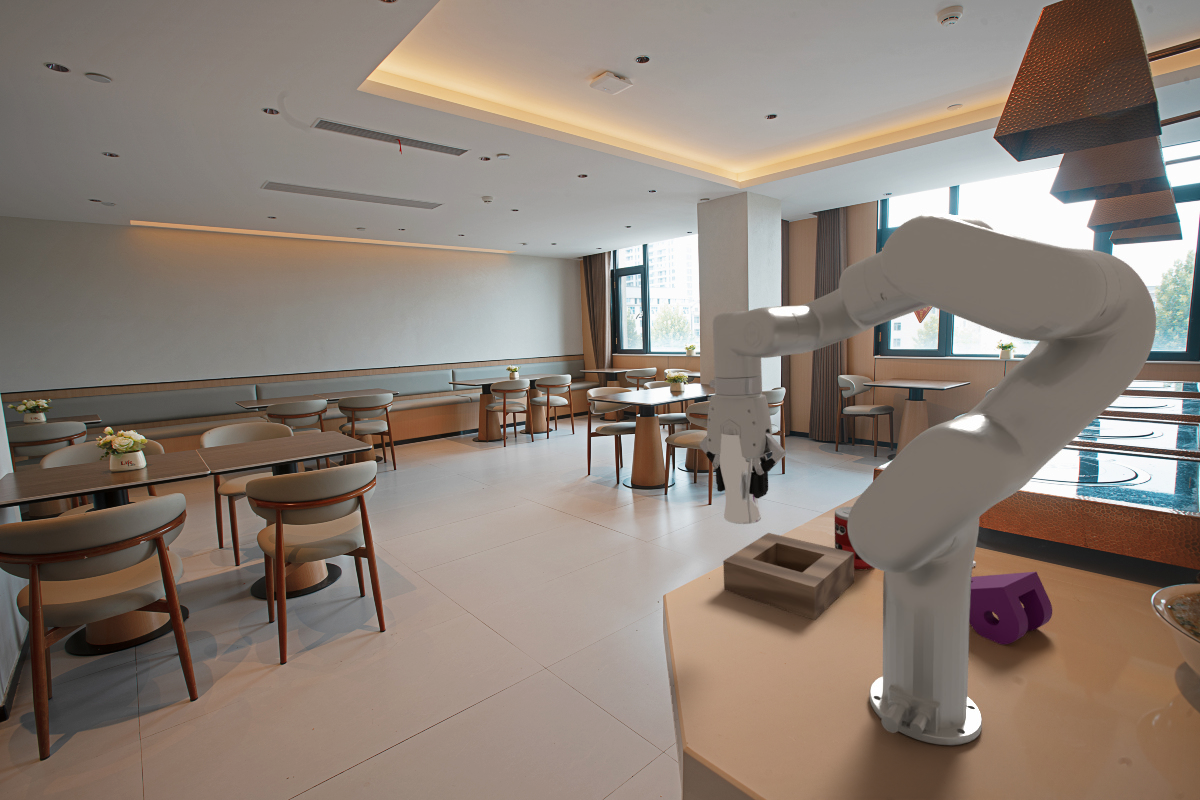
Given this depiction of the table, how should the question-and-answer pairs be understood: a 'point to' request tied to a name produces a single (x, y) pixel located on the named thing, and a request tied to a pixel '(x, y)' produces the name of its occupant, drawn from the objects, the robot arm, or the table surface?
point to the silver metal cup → (738, 482)
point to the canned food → (846, 536)
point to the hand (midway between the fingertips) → (741, 491)
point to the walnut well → (790, 574)
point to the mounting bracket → (1008, 605)
